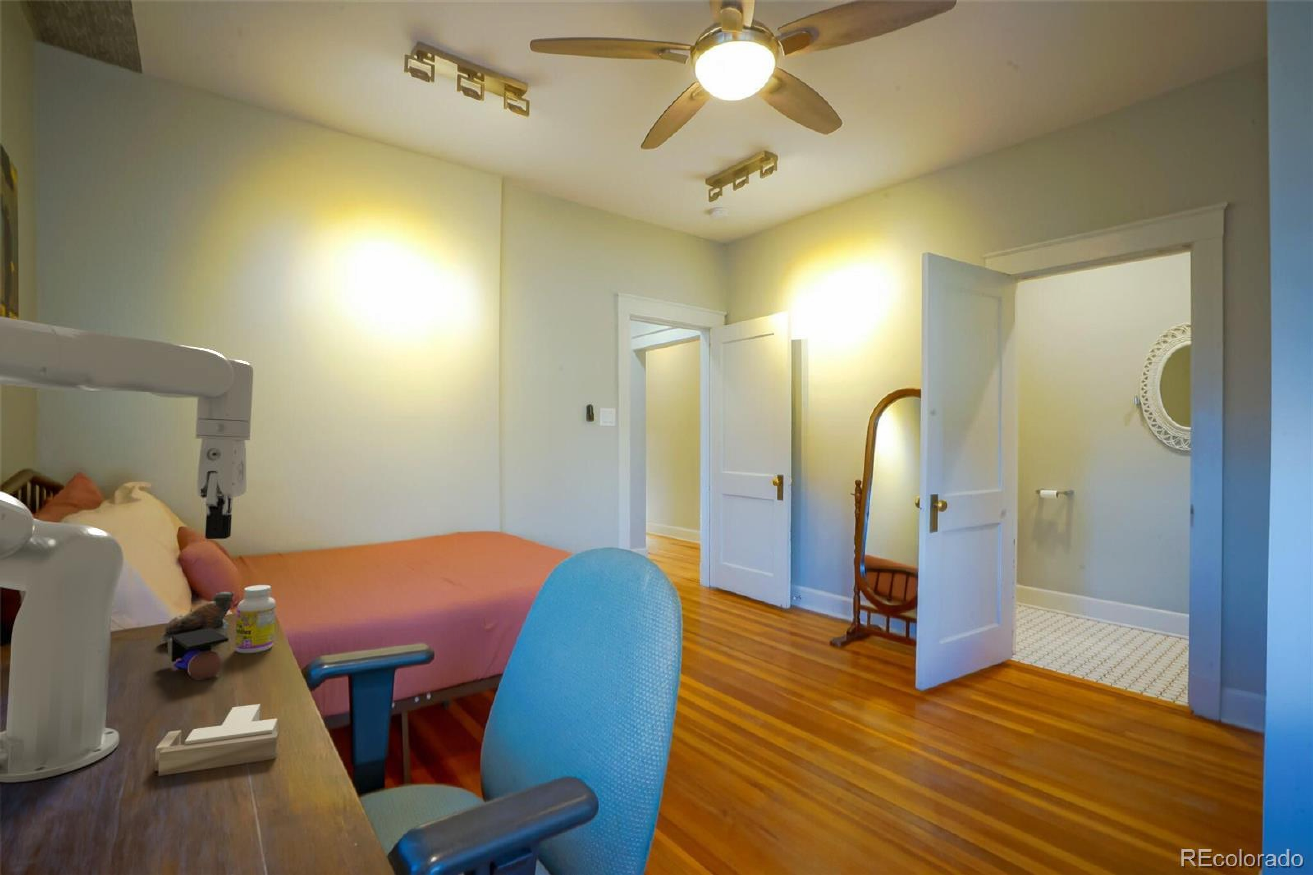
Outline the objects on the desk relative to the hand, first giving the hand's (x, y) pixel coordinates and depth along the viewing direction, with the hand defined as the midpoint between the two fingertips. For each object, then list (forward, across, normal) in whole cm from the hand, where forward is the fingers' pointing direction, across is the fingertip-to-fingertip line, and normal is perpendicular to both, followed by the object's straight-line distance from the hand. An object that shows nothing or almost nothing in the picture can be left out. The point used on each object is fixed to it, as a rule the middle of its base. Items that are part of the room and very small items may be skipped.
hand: (217, 537), depth 100 cm
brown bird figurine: (+27, +34, +11) cm, 45 cm away
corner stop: (+27, -22, -7) cm, 36 cm away
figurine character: (+27, +14, +6) cm, 31 cm away
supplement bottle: (+27, +25, -1) cm, 37 cm away
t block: (+27, -19, -8) cm, 34 cm away
